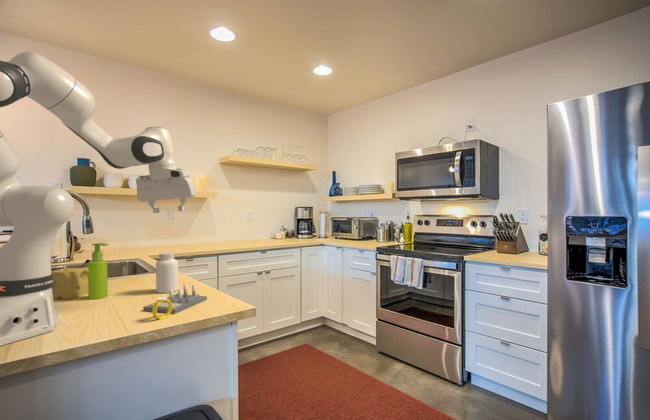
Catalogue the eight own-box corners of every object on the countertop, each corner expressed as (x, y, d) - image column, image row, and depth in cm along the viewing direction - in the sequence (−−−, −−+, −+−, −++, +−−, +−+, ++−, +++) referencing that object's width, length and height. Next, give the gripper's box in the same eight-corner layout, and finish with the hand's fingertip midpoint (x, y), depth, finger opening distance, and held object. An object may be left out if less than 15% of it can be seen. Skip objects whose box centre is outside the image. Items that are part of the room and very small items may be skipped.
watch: (158, 322, 97) (156, 302, 96) (151, 321, 98) (149, 301, 97) (174, 314, 102) (173, 295, 102) (168, 313, 103) (166, 294, 103)
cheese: (71, 299, 121) (71, 272, 121) (42, 299, 121) (41, 272, 121) (92, 292, 132) (91, 266, 131) (65, 292, 132) (64, 267, 132)
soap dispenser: (100, 299, 120) (99, 244, 120) (84, 299, 121) (83, 244, 121) (113, 295, 126) (112, 242, 125) (98, 294, 127) (97, 242, 127)
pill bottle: (151, 292, 130) (151, 253, 130) (169, 287, 137) (169, 251, 137) (165, 294, 127) (164, 254, 126) (183, 289, 134) (182, 252, 133)
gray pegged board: (175, 313, 103) (174, 296, 103) (143, 310, 107) (143, 294, 107) (206, 299, 119) (206, 285, 119) (178, 297, 122) (178, 283, 122)
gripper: (129, 176, 117) (136, 215, 119) (186, 171, 116) (192, 210, 118) (140, 175, 124) (146, 212, 125) (194, 171, 123) (199, 208, 124)
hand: (169, 211), depth 122 cm, fingers open, 8 cm apart
